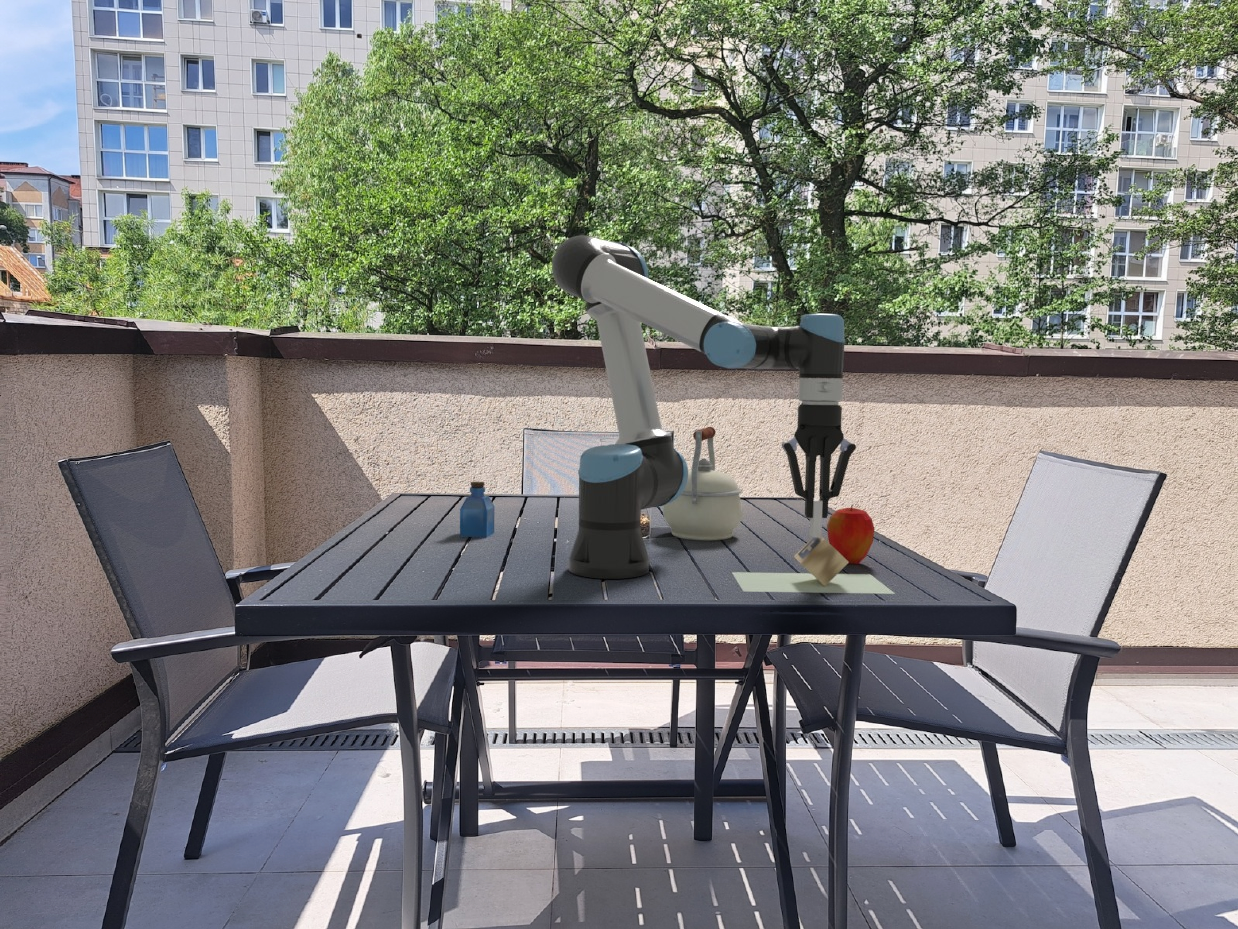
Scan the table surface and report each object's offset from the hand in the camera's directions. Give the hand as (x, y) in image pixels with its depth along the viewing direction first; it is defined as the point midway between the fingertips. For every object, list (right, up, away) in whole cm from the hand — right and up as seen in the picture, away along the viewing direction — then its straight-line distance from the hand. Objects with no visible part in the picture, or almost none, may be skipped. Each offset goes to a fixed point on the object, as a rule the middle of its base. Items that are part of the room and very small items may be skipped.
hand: (815, 536), depth 162 cm
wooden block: (-1, -2, 0) cm, 2 cm away
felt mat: (-1, -9, +1) cm, 9 cm away
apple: (+11, -7, +20) cm, 24 cm away
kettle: (-15, -4, +51) cm, 53 cm away
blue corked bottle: (-67, -3, +45) cm, 81 cm away
